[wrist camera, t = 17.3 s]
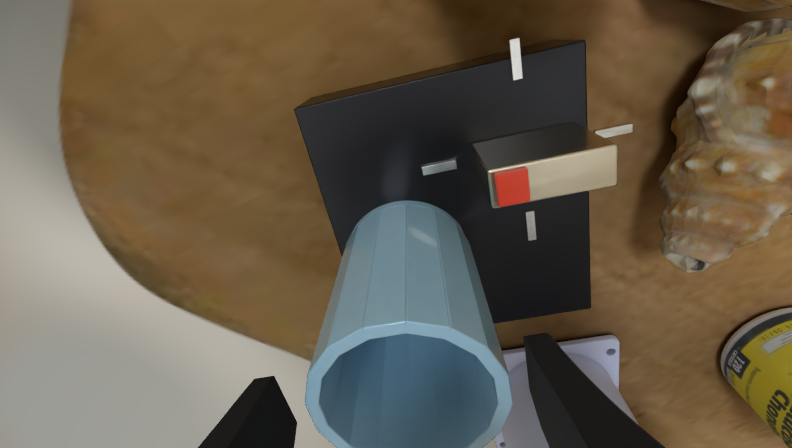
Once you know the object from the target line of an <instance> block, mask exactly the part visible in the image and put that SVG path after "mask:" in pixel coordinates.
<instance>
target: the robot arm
mask: <svg viewBox="0 0 792 448" xmlns="http://www.w3.org/2000/svg"><path fill="white" fill-rule="evenodd" d="M524 345H525V347H524V348H518V349H511V350H504V351H502V353H503V357H504V360H505V363H506V367H507V370H508V373H509V379H510V386H511V393H512V400H513V404H512V407H511V410H510V412H509V414H508V417H507V419H506V422H505V424H504V426H503V429H502V431H501V432H500V433H499V434H498V435H497V436H496V437H495V441H496V447H497V448H665V447H664V446H663V445H661V444H660V443H659V442H658V441H657V440H655V439H654V438H653V437H652V436H651V435H649V434H648V433H647V432H646V431H645V430H644V429H642V428H641V427H640V426H639V424H638V422H637V421H636V419H635V417H634V416H633V414H632V412H631V411H630V409H629V407H628V406H627V404H626V402H625V401H624V399H623V397H622V396H621V394H620V392H619V347H620V344H619V341H618V339H617V338H616V337H615V336H613V335H604V336H598V337H591V338H584V339H578V340H571V341H564V342H558V343H556V341H555V340H554V339H553V338H552V336H551V335H549V334H548V333H541V334H535V335H529V336H524ZM609 349H611V350H609ZM607 350H608V351H607ZM296 427H297V422H296V419H295V417H294V415H293V414H292V411H291V409H290V407H289V405H288V403H287V401H286V399H285V397H284V395H283V393H282V391H281V389H280V387H279V385H278V383H277V381H276V379H275V377H274V376H270V377H264V378H258V379H254V380H253V381H252V383H251V384H250V385H249V386H248V387H247V388H246V390H245V391H244V392H243V393H242V394H241V396H240V397H239V398H238V400H237V401H236V402H235V403H234V404H233V406H232V407H231V408H230V409H229V411H228V412H227V413H226V414H225V415H224V417H223V418H222V419H221V421H220V422H219V423H218V424H217V425H216V427H215V428H214V429H213V430H212V431H211V433H210V434H209V435H208V436H207V438H206V439H205V440H204V441H203V442H202V444H201V445H200V446H199V447H198V448H294V442H295V435H296Z"/></svg>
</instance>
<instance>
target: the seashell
mask: <svg viewBox="0 0 792 448" xmlns="http://www.w3.org/2000/svg"><path fill="white" fill-rule="evenodd" d="M687 93H688V97H687V99H686V100H685V101H684V103H683V104H682V105H681V106H680V107H679V108H678V110H677V113H676V114H677V116H676V117H675V118H674V119H673V121H672V125H671V131H672V132H673V133H674V134H675V135H676V137H677V146H676V152H674V153H673V155H672V158H671V160H670V161H669V163H668V164H667V166H666V168H665V170H664V171H663V173H662V174H661V176H660V178H659V184H660V188H661V190H662V192H663V195H664V198H665V200H666V207H665V209H664V211H663V213H662V215H661V218H660V221H659V222H660V227H661V230H662V232H663V233H664V235H665V237H664V238H663V240H662V242H661V246H660V248H661V250H662V253H663V255H664V256H665V257H666V258H667V259H668V260H669V262H670V263H672V264H674V265H675V266H677V267H678V268H680V269H681V270H683V271H685V272H701V271H704V270H706V269H707V268H708V266H709V265H715V264H717V263H719V262H721V261H723V260H725V259H728V258H729V257H730V255H731V254H732V252H733V250H734V249H735V248H738V247H741V246H744V245H747V244H750V243H753V242H755V241H758V240H760V239H762V238H764V237H766V236H767V235H768V233H769V232H770V230H771V229H772V227H773V226H774V224H775V223H776V222H777V221H778V220H779V219H780V218H781V217H784V216H787V215H792V20H789V19H782V18H768V19H762V20H755V21H750V22H746V23H744V24H742V25H740V26H739V27H737V28H735V29H734V30H733V31H732V32H731V33H729V34H727V35H726V36H724V37H723V38H721V39H720V40H718V41H717V42H716V43H715V44H714V45H713V46H712V47H711V49H710V50H709V51H708V52H707V56H706V60H705V62H704V64H703V66H702V67H701V69H700V71H699V73H698V74H697V76H696V78H695V79H694V81H693V83H692V84H691V86H690V88H689V90H688V92H687Z"/></svg>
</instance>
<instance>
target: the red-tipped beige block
mask: <svg viewBox="0 0 792 448" xmlns="http://www.w3.org/2000/svg"><path fill="white" fill-rule="evenodd" d="M617 148H618V147H617V144H615V143H613V142H611V141H610V140H608V139H606V138H604V137H602V136H600V135H598V134H596V133H594V132H592V131H590V130H588V129H586V128H584V127H582V126H580V125H578V124H577V123H574V122H573V123H568V124H564V125H559V126H554V127H549V128H545V129H540V130H535V131H530V132H526V133H521V134H516V135H511V136H507V137H502V138H497V139H492V140H488V141H483V142H478V143H474V144H472V151H473V158H474V165H475V172H476V176H477V178H478V180H479V182H480V184H481V186H482V188H483V190H484V192H485V194H486V196H487V198H488V200H489V202H490V204H491V206H492V208H500V207H505V206H511V205H516V204H521V203H526V202H532V201H537V200H542V199H547V198H553V197H558V196H563V195H568V194H574V193H579V192H584V191H589V190H595V189H600V188H605V187H611V186H615V185H617Z"/></svg>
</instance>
